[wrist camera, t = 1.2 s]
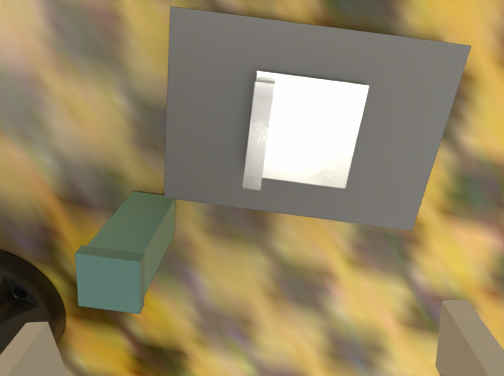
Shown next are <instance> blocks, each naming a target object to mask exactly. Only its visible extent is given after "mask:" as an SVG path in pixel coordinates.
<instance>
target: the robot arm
mask: <svg viewBox="0 0 504 376" xmlns="http://www.w3.org/2000/svg"><path fill="white" fill-rule="evenodd" d="M64 327H65V312H64V307H63V304H62V301H61V299H60V297H59V295H58V293H57V292H56V290H55V289H54V287H53V286H52V284H51V283H50V282H49V281H48V280H47V279H46V278H45V277H44V276H43V275H42V274H41V273H40V272H39V271H38V270H37V269H35V268H34V267H33V266H31V265H30V264H28V263H27V262H25V261H24V260H22V259H20V258H18V257H16V256H14V255H11V254H9V253H6V252H3V251H0V376H68V374H67V372H66V369H65V366H64V364H63V361H62V358H61V356H60V353H59V350H58V348H57V345H56V344H57V343H58V341H59V340H60V338H61V336H62V334H63V331H64ZM436 368H437V370H438V372H439V374H440V376H504V350H503V349H502V347H501V346H500V345H499V343H498V342H497V340H496V339H495V338H494V336H493V335H492V333H491V332H490V331H489V329H488V328H487V326H486V325H485V324H484V322H483V321H482V319H481V318H480V317H479V315H478V314H477V312H476V311H475V310H474V308H473V307H472V305H471V304H470V303H469V301H468V300H449V301H442V309H441V318H440V328H439V338H438V347H437V357H436Z"/></svg>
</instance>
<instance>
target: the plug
mask: <svg viewBox="0 0 504 376" xmlns="http://www.w3.org/2000/svg"><path fill="white" fill-rule="evenodd" d="M175 206H176V199H171V198H164V195H158V194H150V193H143V192H135V191H133V192H132V193H131V194H130V196H129V197H128V198H127V199H126V200H125V201H124V203H123V204H122V205H121V206H120V207H119V209H118V210H117V211H116V212H115V213H114V214H113V216H112V217H111V218H110V219H109V220H108V222H107V223H106V224H105V225H104V226H103V227H102V229H101V230H100V231H99V232H98V233H97V235H96V236H95V237H94V238H93V239H92V241H91V242H90V243H89V244H88V245H87V246H81V247H80V248H79V249H78V251H77V252H76V253H75V260H76V275H77V289H78V304H79V306H85V307H92V308H99V309H107V310H114V311H121V312H129V313H136V314H140V312H141V310H142V308H143V306H144V296H145V294H146V292H147V290H148V288H149V285H150V283H151V281H152V279H153V277H154V275H155V273H156V271H157V269H158V267H159V265H160V263H161V261H162V258H163V256H164V254H165V252H166V250H167V248H168V246H169V244H170V242H171V240H172V238H173V236H174V226H175Z"/></svg>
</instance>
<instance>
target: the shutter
mask: <svg viewBox="0 0 504 376" xmlns="http://www.w3.org/2000/svg"><path fill="white" fill-rule="evenodd" d="M368 88H369V86H368V85H367V84H362V83H354V82H347V81H339V80H331V79H324V78H316V77H309V76H301V75H293V74H286V73H278V72H271V71H263V70H257V77H256V81H255V88H254V96H253V104H252V113H251V121H250V129H249V137H248V146H247V154H246V162H245V171H244V179H243V187H242V188H247V189H254V190H260V188H261V181H262V178H269V179H277V180H284V181H292V182H299V183H307V184H314V185H322V186H329V187H337V188H344V189H345V187H346V182H347V178H348V174H349V170H350V165H351V161H352V157H353V152H354V148H355V144H356V139H357V135H358V131H359V127H360V122H361V118H362V114H363V109H364V105H365V101H366V96H367V92H368Z"/></svg>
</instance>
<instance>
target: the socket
mask: <svg viewBox="0 0 504 376" xmlns="http://www.w3.org/2000/svg"><path fill="white" fill-rule="evenodd" d="M470 48H471V46H470V45H462V44H455V43H447V42H440V41H432V40H424V39H417V38H409V37H401V36H394V35H386V34H378V33H371V32H363V31H355V30H348V29H340V28H332V27H325V26H317V25H309V24H302V23H294V22H286V21H279V20H271V19H263V18H256V17H248V16H241V15H233V14H225V13H218V12H210V11H202V10H195V9H187V8H179V7H172V6H170V30H169V59H168V88H167V117H166V146H165V174H164V198H171V199H178V200H186V201H193V202H201V203H208V204H216V205H223V206H231V207H238V208H246V209H253V210H261V211H268V212H276V213H283V214H291V215H298V216H306V217H313V218H321V219H328V220H335V221H343V222H350V223H358V224H365V225H373V226H380V227H388V228H395V229H403V230H410V231H412V229H413V226H414V223H415V220H416V217H417V214H418V211H419V208H420V204H421V201H422V198H423V195H424V192H425V189H426V186H427V183H428V179H429V176H430V173H431V170H432V167H433V164H434V161H435V158H436V154H437V151H438V148H439V145H440V142H441V139H442V136H443V133H444V130H445V126H446V123H447V120H448V117H449V114H450V111H451V108H452V105H453V101H454V98H455V95H456V92H457V89H458V86H459V83H460V80H461V76H462V73H463V70H464V67H465V64H466V61H467V58H468V55H469V52H470ZM257 70H263V71H271V72H278V73H286V74H293V75H301V76H309V77H316V78H324V79H331V80H339V81H347V82H354V83H362V84H367V85H368V86H369V88H368V92H367V96H366V101H365V105H364V109H363V114H362V118H361V122H360V127H359V131H358V135H357V139H356V144H355V148H354V152H353V157H352V161H351V165H350V170H349V174H348V178H347V182H346V187H345V189H344V188H337V187H329V186H322V185H314V184H307V183H299V182H292V181H284V180H277V179H269V178H262V181H261V188H260V190H254V189H247V188H242V187H243V179H244V171H245V162H246V154H247V146H248V137H249V129H250V121H251V113H252V104H253V96H254V88H255V81H256V77H257Z"/></svg>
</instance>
